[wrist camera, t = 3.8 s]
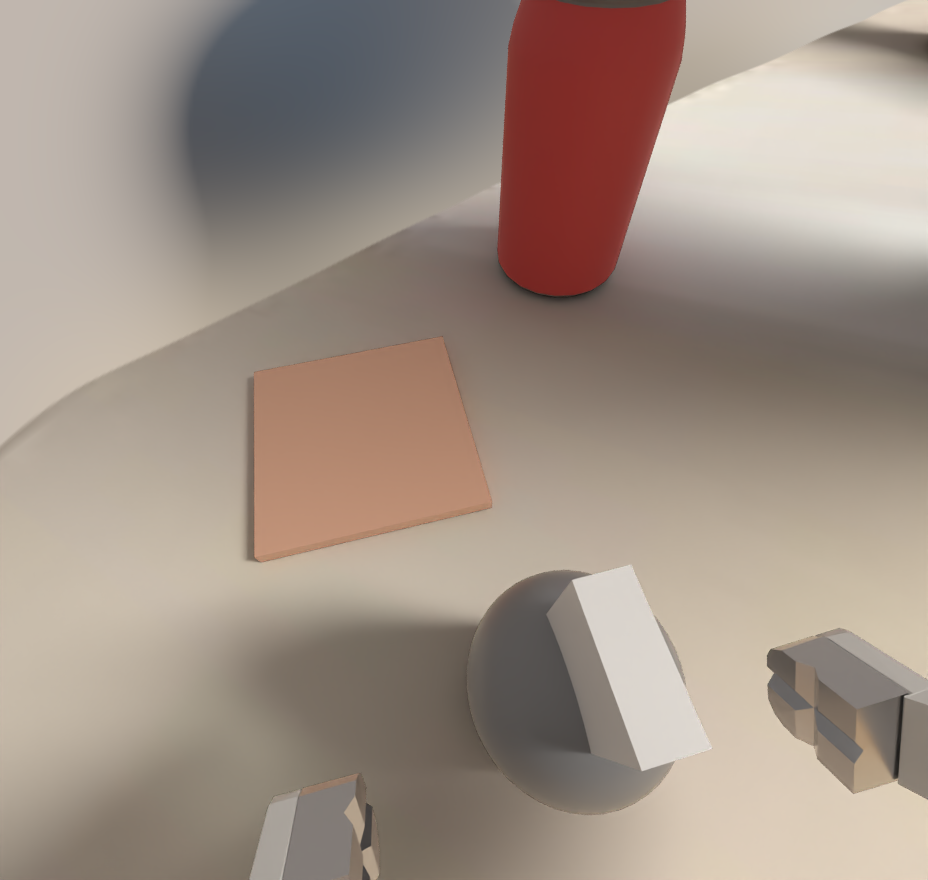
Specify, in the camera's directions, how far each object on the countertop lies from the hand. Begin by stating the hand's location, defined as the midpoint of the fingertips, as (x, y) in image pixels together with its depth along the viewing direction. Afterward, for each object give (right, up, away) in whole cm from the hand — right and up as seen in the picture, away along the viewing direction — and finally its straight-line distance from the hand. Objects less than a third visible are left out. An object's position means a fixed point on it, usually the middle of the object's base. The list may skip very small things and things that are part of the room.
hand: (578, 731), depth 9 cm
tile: (-7, +6, +11) cm, 14 cm away
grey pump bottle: (0, -3, +6) cm, 7 cm away
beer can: (+3, +16, +17) cm, 23 cm away
